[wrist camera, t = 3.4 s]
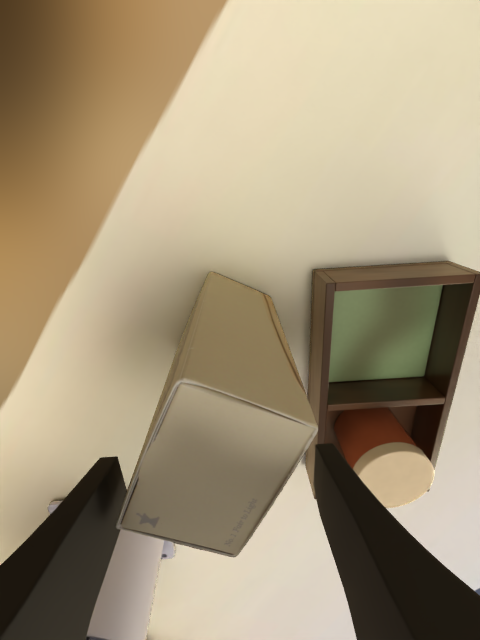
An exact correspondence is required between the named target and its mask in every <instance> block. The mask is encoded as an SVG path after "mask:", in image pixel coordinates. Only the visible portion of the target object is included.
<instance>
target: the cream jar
mask: <svg viewBox="0 0 480 640" xmlns="http://www.w3.org/2000/svg"><path fill="white" fill-rule="evenodd" d="M334 435H335V438H336V440H337V443H338V445H339V447H340V450H341V452H342V455H343V457H344V458H345V460H346V461H347V462H348V464H349V465H350V466H351V468H352V469H353V470H354V471H355V473H356V474H357V475H358V476H359V478H360V479H361V480H362V481H363V483H364V484H365V485H366V486H367V487H368V488H369V490H370V491H371V492H372V493H373V494H374V496H375V497H376V498H377V499H378V500H379V501H380V502H381V504H382V505H383V506H384V507H385V508H393V507H399V506H402V505H405V504H408V503H410V502H412V501H414V500H416V499H418V498H419V497H421V496H422V495H423V494H424V493H425V492H426V491H427V490H428V489H429V487H430V486H431V484H432V482H433V479H434V468H433V465H432V463H431V461H430V460H429V459H428V457H427V456H426V455H425V453H424V452H423V451H422V450H421V449H420V448H418V446H417V445H416V444H415V442H414V441H413V439H412V438H411V437H410V435H409V434H408V432H407V431H406V430H405V428H404V427H403V425H402V424H401V423H400V421H399V420H398V418H397V417H396V416H395V414H394V413H393V412H392V410H391V409H390V408H389V407H385V408H370V409H354V410H344V411H343V412H342V413H341V414H340V415H339V417H338V418H337V420H336V422H335V425H334Z"/></svg>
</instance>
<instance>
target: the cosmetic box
mask: <svg viewBox="0 0 480 640" xmlns="http://www.w3.org/2000/svg"><path fill="white" fill-rule="evenodd" d="M317 432H318V425H317V423H316V420H315V417H314V414H313V412H312V409H311V406H310V404H309V401H308V399H307V396H306V393H305V390H304V387H303V385H302V382H301V379H300V376H299V373H298V371H297V368H296V365H295V362H294V359H293V357H292V354H291V352H290V349H289V346H288V343H287V340H286V338H285V335H284V332H283V329H282V327H281V324H280V321H279V318H278V316H277V313H276V310H275V307H274V304H273V302H272V299H271V297H270V296H268V295H266V294H263V293H261V292H259V291H257V290H254V289H252V288H250V287H248V286H245V285H243V284H240V283H238V282H236V281H233V280H231V279H229V278H226V277H224V276H221V275H219V274H216V273H214V272H210V273H209V274H208V275H207V278H206V280H205V282H204V284H203V287H202V289H201V291H200V294H199V296H198V298H197V301H196V303H195V305H194V308H193V310H192V313H191V315H190V317H189V320H188V322H187V325H186V327H185V330H184V332H183V335H182V338H181V340H180V343H179V346H178V348H177V351H176V354H175V357H174V360H173V363H172V365H171V368H170V371H169V374H168V377H167V380H166V383H165V385H164V388H163V391H162V394H161V397H160V399H159V402H158V405H157V408H156V411H155V414H154V416H153V419H152V422H151V425H150V428H149V431H148V433H147V436H146V439H145V442H144V445H143V448H142V450H141V453H140V456H139V459H138V462H137V465H136V467H135V470H134V473H133V476H132V479H131V482H130V485H129V487H128V490H127V493H126V496H125V499H124V502H123V505H122V508H121V511H120V514H119V517H118V520H117V523H116V528H117V529H120V530H125V531H131V532H134V533H137V534H141V535H145V536H150V537H153V538H157V539H161V540H165V541H169V542H173V543H177V544H180V545H185V546H189V547H192V548H196V549H200V550H206V551H209V552H213V553H217V554H221V555H225V556H229V557H236V556H237V555H238V554H239V553H240V552H241V550H242V549H243V547H244V546H245V545H246V543H247V542H248V541H249V539H250V538H251V537H252V535H253V533H254V532H255V530H256V529H257V527H258V526H259V525H260V523H261V521H262V520H263V518H264V517H265V515H266V514H267V512H268V511H269V509H270V508H271V506H272V505H273V503H274V501H275V500H276V498H277V496H278V495H279V494H280V492H281V491H282V490H283V487H284V486H285V484H286V483H287V481H288V479H289V478H290V476H291V475H292V473H293V472H294V470H295V468H296V467H297V465H298V463H299V462H300V460H301V459H302V457H303V455H304V454H305V452H306V450H307V449H308V448H309V446H310V444H311V442H312V441H313V439H314V437H315V436H316V434H317Z"/></svg>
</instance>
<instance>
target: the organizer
mask: <svg viewBox="0 0 480 640" xmlns="http://www.w3.org/2000/svg"><path fill="white" fill-rule="evenodd" d="M479 295H480V272H479V271H476V270H473V269H470V268H467V267H464V266H461V265H458V264H456V263H453V262H450V261H443V262H427V263H410V264H394V265H378V266H362V267H345V268H329V269H314V270H313V274H312V301H311V329H310V356H309V384H308V401H309V404H310V406H311V409H312V412H313V414H314V417H315V420H316V423H317V425H318V432H317V434H316V436H315V437H314V439H313V441H312V442H311V444H310V446H309V448H308V449H307V450H306V470H307V473H308V477H309V481H310V484H311V488H312V492H313V495H314V499H316V495H315V490H314V485H313V482H314V464H315V445H316V444H326V443H333V444H334V445H335V446H336V447H337V449H338V450H339V452H340V453H341V454H342V452H341V450H340V447H339V445H338V443H337V440H336V438H335V435H334V425H335V422H336V420H337V418H338V417H339V415H340V414H341V413H342V412H343V411H344V410H354V409H370V408H385V407H389V408H390V409H391V410H392V412H393V413H394V414H395V416H396V417H397V418H398V420H399V421H400V423H401V424H402V425H403V427H404V428H405V430H406V431H407V432H408V434H409V435H410V437H411V438H412V439H413V441H414V442H415V444H416V445H417V446H418V448H420V449H421V450H422V451H423V452H424V453H425V455H426V456H427V457H428V459H429V460H430V461H431V463H432V465H433V468H434V470H435V466H436V462H437V458H438V455H439V451H440V447H441V443H442V439H443V435H444V431H445V427H446V423H447V420H448V416H449V412H450V408H451V404H452V400H453V396H454V392H455V388H456V385H457V381H458V377H459V373H460V369H461V365H462V361H463V357H464V353H465V349H466V346H467V342H468V338H469V334H470V330H471V326H472V322H473V318H474V314H475V311H476V307H477V303H478V299H479ZM342 456H343V455H342ZM429 490H430V487H429V489H428V490H427V491H426V492H428V491H429Z"/></svg>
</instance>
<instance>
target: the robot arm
mask: <svg viewBox="0 0 480 640" xmlns="http://www.w3.org/2000/svg"><path fill="white" fill-rule="evenodd" d="M313 485H314V490H315V495H316V499H317V504H318V508H319V513H320V516H321V520H322V523H323V526H324V529H325V532H326V535H327V538H328V541H329V544H330V547H331V551H332V554H333V557H334V560H335V563H336V566H337V569H338V572H339V575H340V578H341V581H342V584H343V587H344V591H345V594H346V598H347V601H348V605H349V609H350V613H351V617H352V621H353V625H354V629H355V633H356V637H357V640H480V595H478V594H477V593H476V592H475V591H474V590H472V589H471V588H470V587H469V586H468V585H466V584H465V583H464V582H463V581H462V580H460V579H459V578H458V577H457V576H456V575H454V574H453V573H452V572H451V571H450V570H449V569H447V568H446V567H445V566H444V565H443V564H442V563H441V562H440V561H438V560H437V559H436V558H435V557H434V556H433V555H432V554H431V553H430V552H429V551H428V550H426V549H425V548H424V547H423V546H422V545H421V544H420V543H419V542H418V541H417V540H416V539H415V538H414V537H413V536H412V535H411V534H410V533H409V532H408V531H407V530H406V529H405V528H404V527H403V526H402V525H401V524H400V523H399V522H398V521H397V520H396V519H395V518H394V517H393V516H392V514H391V513H390V512H389V511H388V510H387V509H386V508H385V507H384V506H383V505H382V504H381V502H380V501H379V500H378V499H377V498H376V497H375V496H374V494H373V493H372V492H371V491H370V490H369V488H368V487H367V486H366V485H365V484H364V483H363V481H362V480H361V479H360V478H359V476H358V475H357V474H356V473H355V471H354V470H353V469H352V468H351V466H350V465H349V464H348V462H347V461H346V460H345V458H344V457H343V456H342V454H341V453H340V452H339V450H338V449H337V447H336V446H335V445H334V444H333V443H326V444H316V445H315V464H314V482H313ZM126 493H127V490H126V486H125V482H124V479H123V475H122V472H121V468H120V464H119V461H118V457H103V458H100V459H99V460H98V461H97V462H96V463H95V464H94V466H93V467H92V468H91V469H90V470H89V471H88V472H87V474H86V475H85V476H84V477H83V478H82V479H81V481H80V482H79V483H78V484H77V485H76V486H75V488H74V489H73V490H72V491H71V492H70V493H69V494H68V496H67V497H66V498H65V499H64V500H63V501H52V502H51V503H50V504H49V506H48V510H49V513H50V515H49V517H48V518H47V519H46V520H45V521H44V522H43V523H42V524H41V525H40V526H39V527H38V528H37V529H36V530H35V531H34V532H33V534H32V535H31V536H30V537H29V538H28V539H27V540H26V541H25V542H24V543H23V544H22V545H21V546H20V547H19V548H18V549H17V550H16V551H15V552H14V553H13V554H12V555H11V556H10V557H9V558H8V559H7V560H6V561H5V562H3V563H2V564H1V565H0V640H146V637H147V631H148V626H149V621H150V615H151V610H152V604H153V599H154V593H155V588H156V582H157V577H158V572H159V566H160V561H161V559H170V558H173V557H174V556H175V547H174V543H173V542H169V541H165V540H161V539H157V538H153V537H150V536H145V535H141V534H137V533H134V532H131V531H125V530H120V529H117V528H116V523H117V520H118V517H119V514H120V511H121V508H122V505H123V502H124V499H125V496H126Z"/></svg>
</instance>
